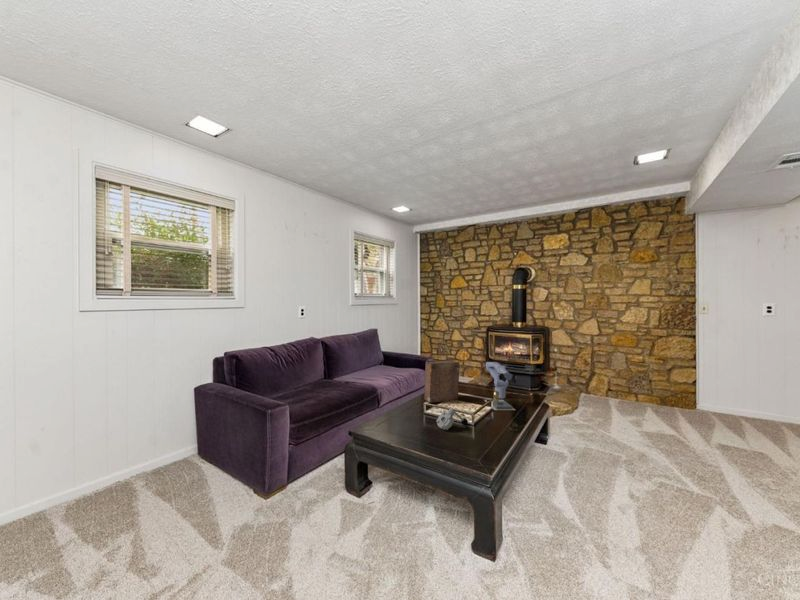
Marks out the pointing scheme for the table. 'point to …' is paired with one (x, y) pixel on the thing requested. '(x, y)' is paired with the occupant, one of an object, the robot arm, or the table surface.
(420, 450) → the table surface
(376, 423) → the table surface
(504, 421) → the table surface
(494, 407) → the socket plate
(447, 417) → the mechanical valve
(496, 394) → the brass rounded knob
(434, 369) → the book
